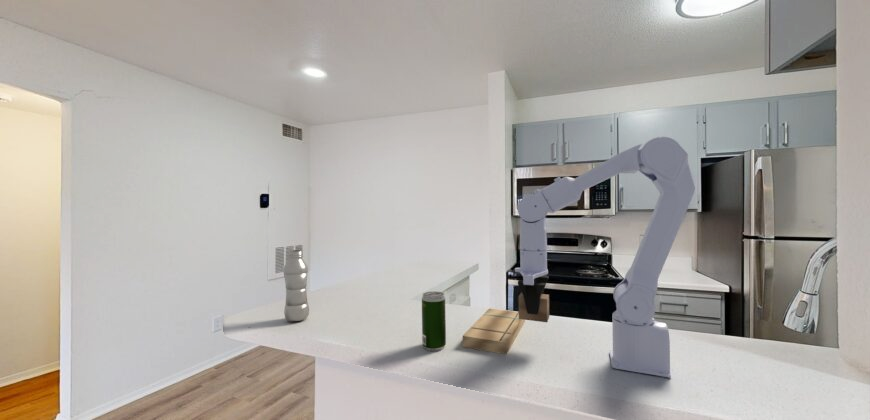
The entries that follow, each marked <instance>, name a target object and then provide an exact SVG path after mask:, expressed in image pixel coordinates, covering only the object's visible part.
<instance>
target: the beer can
mask: <svg viewBox="0 0 870 420" xmlns="http://www.w3.org/2000/svg"><path fill="white" fill-rule="evenodd" d="M446 318H447V317H446V297H445V293H444V292H442V291H425V292H424V293H422V297H421V331H422V332H421V336H422V337H421V340H422V343H421V345H422V346H423V349H424V350H426V351H429V352H439V351H443V350H444V348H445V347H446V345H447V333H446V332H447V329H446V320H447V319H446Z"/></svg>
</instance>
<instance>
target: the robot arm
mask: <svg viewBox="0 0 870 420" xmlns="http://www.w3.org/2000/svg"><path fill="white" fill-rule="evenodd" d="M640 147H641V149H640ZM689 165H690V164H689V155H688V153H687V151H686V150H685V149H684V148H683V147H682V146H681V144H679V142H678V141H677V140H675V139H674V138H671V137H668V136H658V137H653V138H652V139H650V140H648V141H646V143H644V144H643V146H642V143H641V144H637V145H635V146H633V147H630V148H627V149H626V150H623V151H621V152H619V153H617V154H616V155H614V156H612V157H610V158H609V159H607V160H605V161H603V162H602V163H600V164H598V165H596V166H595V167H592V168H591V169H589V170H587V171H586V172H584V173H582V174H581V175H579V176H577V177H575V178H574V177H570V176H564V177H562V178H561V177H560V176H558V177H556V178H554V179H553V181H554V182H553V183H551V184H549V185H547V186H546V187H544V188H541V189H538V188H537V189H535V190H534V191H533V192H534V194H526V195H525V196H524V197H523V198H521V200H520V201H519V202H518V204H517V208H516V209H517V214H518V216H519V217H520V219H519V220H520V221H519V226H520V228H519V257H520V260H519V263H520V266H519V267H515V268H514V272H515V273H519V274H521V276H522V279H518V281H517V286H518V288H519V289H520V291H521V293H522V294H523V297H524V301H525V305H526V310H527V313H528V314H536V315H537V314H538V310H539V305H540V298H541V294H544V292H545V287H546V284H547V282H548V280H549V277H550V276H549V275H548V274H549V269H548V260H547V259H548V250H547V249H548V247H547V245H548V244H547V242H548V239H547V237H548V236H547V227H546V217H547V215H548V213H549V214H554V213H556V212H558V211H560V210H562V209H564V208H566V207H568V206H570V205H573V203H577V202H578V201H580V200H581V197H582V194H583V192H584V191H586V190H588V189H590V188H591V187H594V186H597V185H598V184H600V183H602V182H605V181H606V180H609V179H611V178H613V177H615V176H617V175H620V174H636V173H637V172H638V171H639V173H641V174H643V176H645V177H646V178H648V179H649V180H650V181H651V182H652V183H653V185H654V186H655V188H656V189H657V191H658V193H659V197H658V199H657V202H656V204H655V206H654V208H653V209H654V210H653V211H652V214H651V216H650V219H649V222H648V224H647V227H646V229H645V232H644V233H643V236H642V239H641V241H640V242H639V243H640V244H639V246H638V247H637V248H638V249H637V251H636V254H635V255H634V259H633V261H632V263H631V266H630V268H629V269H628V270H627V272H626V273H625V275H624V278H623V280H621V282H619V283H617V285H616V286H615V287H614V289H613V292H612V293H613V295H612V296H613V300H614V302H615V307H616V310H615V311H613V312H612V317H611V318H612V349H610V350H609V358H610V363H611V367H612V368H613V369H617V370H620V371H621V370H622V371H629V372H634V373H640V374H647V375H653V376H657V377H663V378H671V377H672V374H671V345H670V344H671V342H670V341H671V340H670V332H669V327H668V324H667V323H665V322H664V321H663V322H661V321H658V320H655V318H654V316H655V313H656V306H655V297H656V294H657V293H658V286H659V285H658V283H659V282H658V281H659V277H660V275H661V272H662V271H663V268H664V265H665V263H666V261H667V258H668V256H669V254H670V252H671V249H672V246H673V244H674V241H675V239H676V238H677V235H678V232H679V230H680V227H681V225H682V223H683V219H684V218H685V215H686V214H687V211H688V208H689V206H690V203H691V201H692V198H693V196H694V194H695V190H696V187H695V183H694V180H693V176H692V172H691V169H690V166H689Z"/></svg>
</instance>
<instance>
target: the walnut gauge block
mask: <svg viewBox="0 0 870 420" xmlns="http://www.w3.org/2000/svg"><path fill="white" fill-rule="evenodd" d="M518 312H519V319H524V320H525V321H526V320H527V321H533V322H540V323H541V322H542V323H548V321H549V319H550V294H545V293H543V294H541V298H540V305H539V310H538V314H537V315H536V314H528V313H527V310H526V305H525V301H524V297H523V294H522V292H520V294H519V295H518Z"/></svg>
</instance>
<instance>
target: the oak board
mask: <svg viewBox="0 0 870 420" xmlns="http://www.w3.org/2000/svg"><path fill="white" fill-rule="evenodd" d="M525 322H526V320H524V319H519V311H514V310H513V311H512V310H505V309H497V308H487V310H486V311H485V312H484V314H482V315H481V316H480V317H479V318H478V319H477V320H476V321H475V322H474V324H472V325H471V326H470V328H469V329H468V330H466V332H465V333H464V334H462V348H467V349H468V348H469V349H474V350H479V351H486V352H492V353H498V354H502V355H508V353H509V351H510V349H511V347H512V346H513V344H514V342H515V340H516V338H517V337H518V334H520V331H521V330H522V328H523V326H524V324H525Z"/></svg>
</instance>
